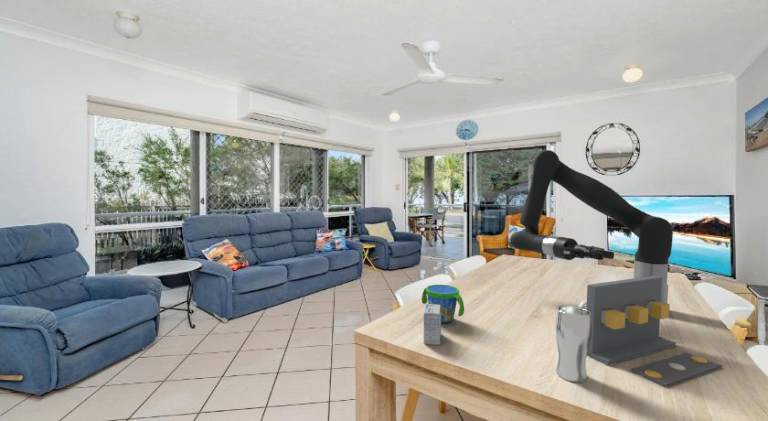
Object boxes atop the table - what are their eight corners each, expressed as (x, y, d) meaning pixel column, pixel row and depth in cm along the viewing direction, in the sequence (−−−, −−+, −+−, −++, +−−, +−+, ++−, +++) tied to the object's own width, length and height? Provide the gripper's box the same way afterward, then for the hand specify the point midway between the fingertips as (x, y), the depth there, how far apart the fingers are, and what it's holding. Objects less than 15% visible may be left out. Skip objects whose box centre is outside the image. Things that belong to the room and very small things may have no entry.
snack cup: (471, 324, 104) (472, 291, 104) (448, 331, 98) (448, 297, 98) (436, 309, 117) (437, 280, 116) (413, 315, 111) (414, 285, 110)
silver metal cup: (547, 367, 78) (549, 305, 78) (575, 366, 79) (578, 304, 78) (566, 384, 71) (569, 316, 71) (597, 383, 72) (599, 315, 71)
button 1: (588, 314, 91) (588, 300, 91) (625, 328, 82) (626, 312, 82) (577, 316, 89) (578, 301, 89) (614, 330, 80) (615, 314, 80)
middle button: (610, 310, 94) (610, 296, 94) (648, 323, 85) (649, 307, 85) (600, 312, 93) (601, 298, 93) (638, 325, 84) (639, 309, 84)
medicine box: (439, 346, 89) (440, 314, 89) (423, 344, 90) (423, 312, 90) (440, 333, 97) (441, 304, 96) (425, 332, 98) (425, 303, 97)
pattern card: (686, 354, 85) (686, 351, 85) (721, 367, 79) (722, 364, 79) (630, 371, 77) (630, 367, 77) (665, 387, 71) (665, 383, 71)
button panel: (635, 332, 99) (638, 272, 98) (675, 346, 90) (679, 280, 89) (570, 347, 89) (573, 280, 88) (608, 365, 80) (611, 291, 79)
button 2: (630, 306, 98) (631, 293, 98) (669, 318, 89) (670, 303, 89) (621, 308, 96) (622, 294, 96) (660, 320, 87) (661, 305, 87)
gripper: (544, 237, 115) (592, 245, 99) (574, 236, 120) (623, 242, 104) (544, 259, 115) (591, 270, 99) (573, 256, 120) (622, 266, 105)
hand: (607, 256), depth 102 cm, fingers open, 4 cm apart
